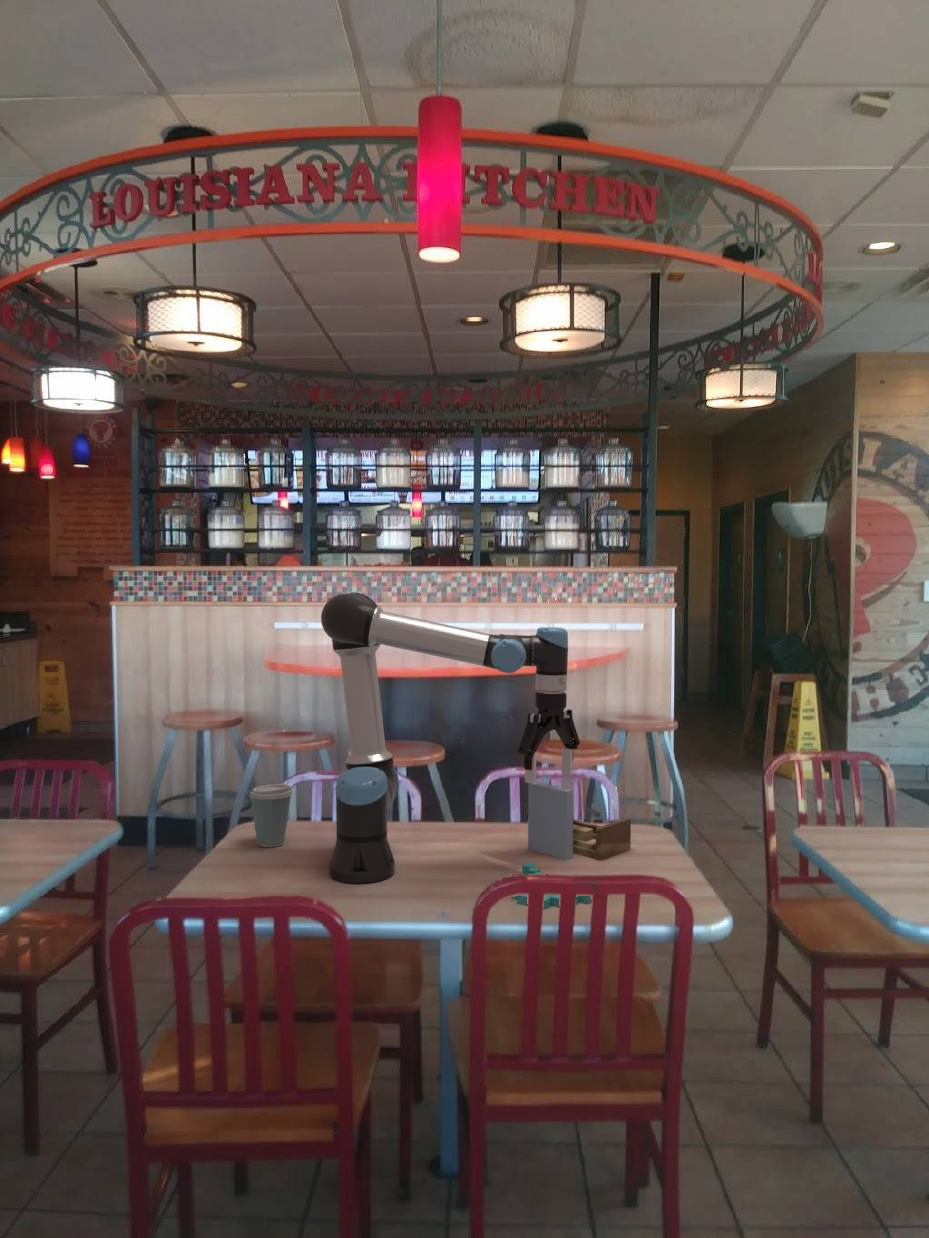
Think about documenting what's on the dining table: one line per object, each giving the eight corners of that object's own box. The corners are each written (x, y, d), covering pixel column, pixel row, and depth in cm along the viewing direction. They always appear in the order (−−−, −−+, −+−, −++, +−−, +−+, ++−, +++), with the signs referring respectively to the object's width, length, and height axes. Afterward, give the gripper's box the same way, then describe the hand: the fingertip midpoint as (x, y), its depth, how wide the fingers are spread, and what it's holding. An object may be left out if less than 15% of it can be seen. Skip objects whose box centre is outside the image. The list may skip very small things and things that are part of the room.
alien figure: (526, 872, 205) (488, 900, 187) (526, 862, 205) (488, 889, 187) (608, 886, 195) (577, 916, 178) (608, 876, 195) (577, 906, 178)
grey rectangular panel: (528, 851, 216) (528, 783, 215) (534, 849, 218) (535, 781, 217) (566, 862, 207) (566, 791, 207) (572, 860, 209) (573, 789, 208)
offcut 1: (555, 834, 219) (555, 824, 219) (562, 832, 222) (563, 822, 221) (586, 841, 213) (586, 831, 213) (593, 838, 216) (593, 828, 216)
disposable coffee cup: (242, 848, 221) (241, 789, 220) (262, 836, 232) (261, 780, 231) (281, 851, 219) (280, 791, 218) (299, 839, 229) (298, 782, 228)
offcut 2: (553, 844, 220) (553, 834, 220) (563, 840, 223) (563, 831, 222) (591, 854, 211) (592, 844, 211) (602, 851, 214) (602, 841, 214)
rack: (536, 848, 221) (536, 812, 221) (566, 838, 230) (566, 804, 229) (600, 866, 207) (601, 829, 207) (630, 855, 215) (630, 819, 215)
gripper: (528, 697, 199) (526, 789, 200) (595, 689, 217) (593, 774, 218) (504, 693, 205) (502, 783, 206) (571, 686, 222) (569, 769, 223)
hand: (548, 779), depth 212 cm, fingers open, 13 cm apart
